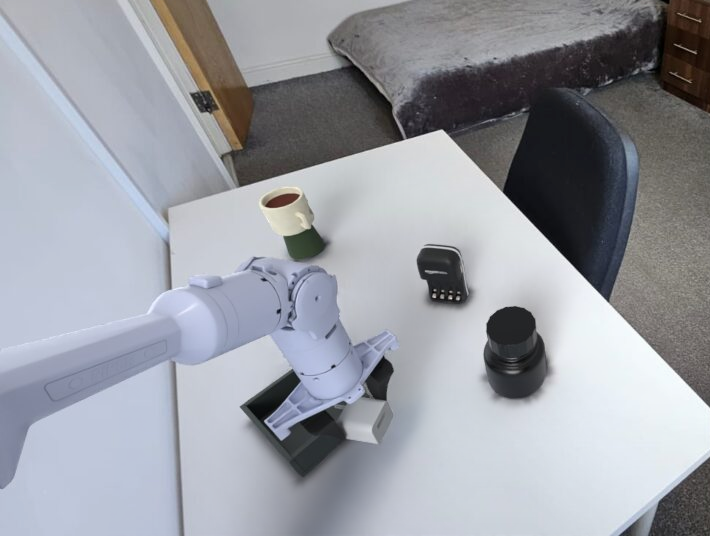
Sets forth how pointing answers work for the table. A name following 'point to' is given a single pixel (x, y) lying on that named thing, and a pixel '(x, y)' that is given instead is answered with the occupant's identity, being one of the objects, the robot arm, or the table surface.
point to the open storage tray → (299, 444)
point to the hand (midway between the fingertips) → (360, 417)
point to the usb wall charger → (365, 420)
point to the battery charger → (443, 273)
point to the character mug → (292, 220)
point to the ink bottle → (514, 353)
